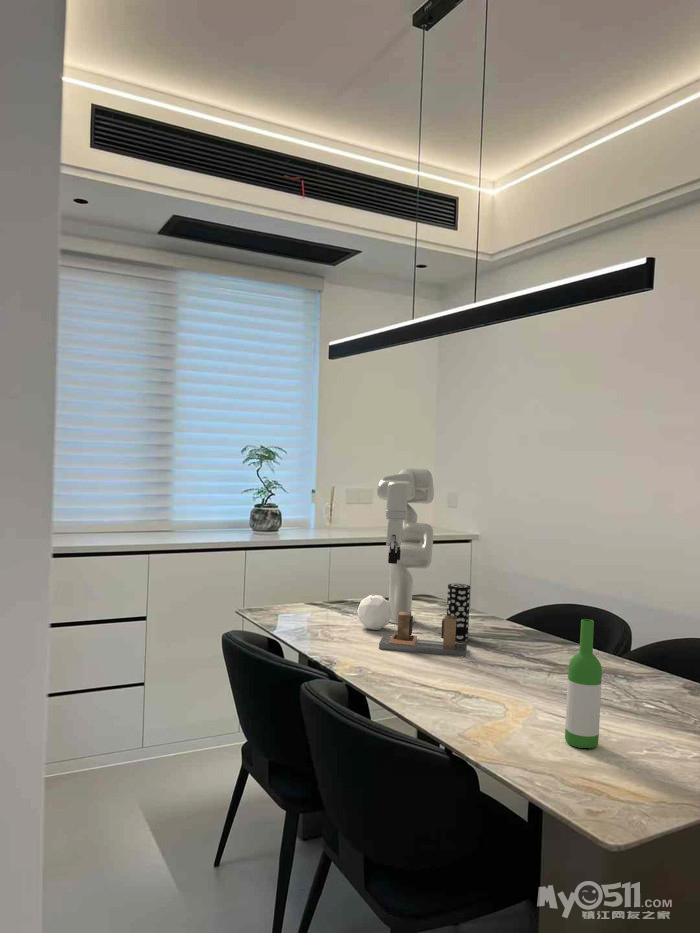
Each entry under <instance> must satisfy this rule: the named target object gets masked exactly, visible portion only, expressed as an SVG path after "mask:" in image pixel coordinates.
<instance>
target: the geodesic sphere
mask: <svg viewBox="0 0 700 933" xmlns="http://www.w3.org/2000/svg"><path fill="white" fill-rule="evenodd" d="M356 612H357V615H358V620H359V623H360V624H362V625H363V626H364V627H365V628H366V629H367V630H374V631H379V630H382V629H383V628H385V626H388V625H389V623H390V622H389V621H390V618H391V616H392V611H391V607H390V603H389V600H386V599H385V598H384V596H382V595H377V594H370V595H367V597H365V598H364V599H362V600H360V604H359V605H358V608H357V611H356Z"/></svg>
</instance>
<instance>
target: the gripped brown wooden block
mask: <svg viewBox="0 0 700 933" xmlns="http://www.w3.org/2000/svg"><path fill="white" fill-rule="evenodd" d="M413 618H414V615H412V611H411V612H399V614H398V624H397V630H396V631H397V632H396V634H397V639H400V640H410V635H412V634H413V625H414V623H413Z"/></svg>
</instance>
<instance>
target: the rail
mask: <svg viewBox="0 0 700 933" xmlns="http://www.w3.org/2000/svg"><path fill="white" fill-rule="evenodd" d="M456 618H457V616H447V614H445V616H444V618H442V620H441V632H440V634H441V635H440V636H441V637H440V638H441V639H442V641H438V640H429V639H419V638H418V635H412V634H411V635H410V640H400V639H397V633H392V634H391V636H385V635H384V636H382V637H381V639H380V641H379V643H378V649H379V650H384V651H385V650H387V651H398V652H406V651H407V652H408V653H409V652H410V653H418V654H430V655H438V656H439V655H440V656H449V657H450V656H452V657H460V658H461V657H462V658H466V657H467V646H468V645H467V643H463V642H462V643H461V642H456V641H455V639H456Z"/></svg>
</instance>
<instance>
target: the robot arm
mask: <svg viewBox="0 0 700 933" xmlns="http://www.w3.org/2000/svg"><path fill="white" fill-rule="evenodd" d="M433 478H434V477H433V475H432V473H431V471H430V470H429V469H426V468H425V469H424V468H403V469H401V470H400V471H398V474H393V475H388V476H384V477H382V478H381V479H380V481H379V483H378V484H377V489H376V493H377V496H378V498H379V499H380V500H383V501H386V511H385V512H386V516H385V518H386V520H387V521H388V522H387V529H386V530H387V532H386V544H385V545H386V547H389V549H388V556H387V557H388V560H387V562H388V564H389V583H388V584H389V587H388V602H389V603H390V607H391V611H392V616H391V618H390V621H389V623H390V624H397V625H398V614H399V612H411V613H412V604H413V587H414V586H413V585H414V579H413V576H412V574H411V572H410V570H409V569H424V570H425V569H428V568H429V567H430V566H431V564H432V559H433V558H432V556H433V547H434V546H433V545H434V529H433V527H432V525H430V524H429V523H423V522H417V521H418V514H417V512H416V511H415V509H414V508H413V507H412V506H411V505H410V504H425V505H426V504H431V503H432V502H433V500H434V497H435V488H434V479H433ZM415 622H416V619H415V617H413V624H414V623H415Z"/></svg>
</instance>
